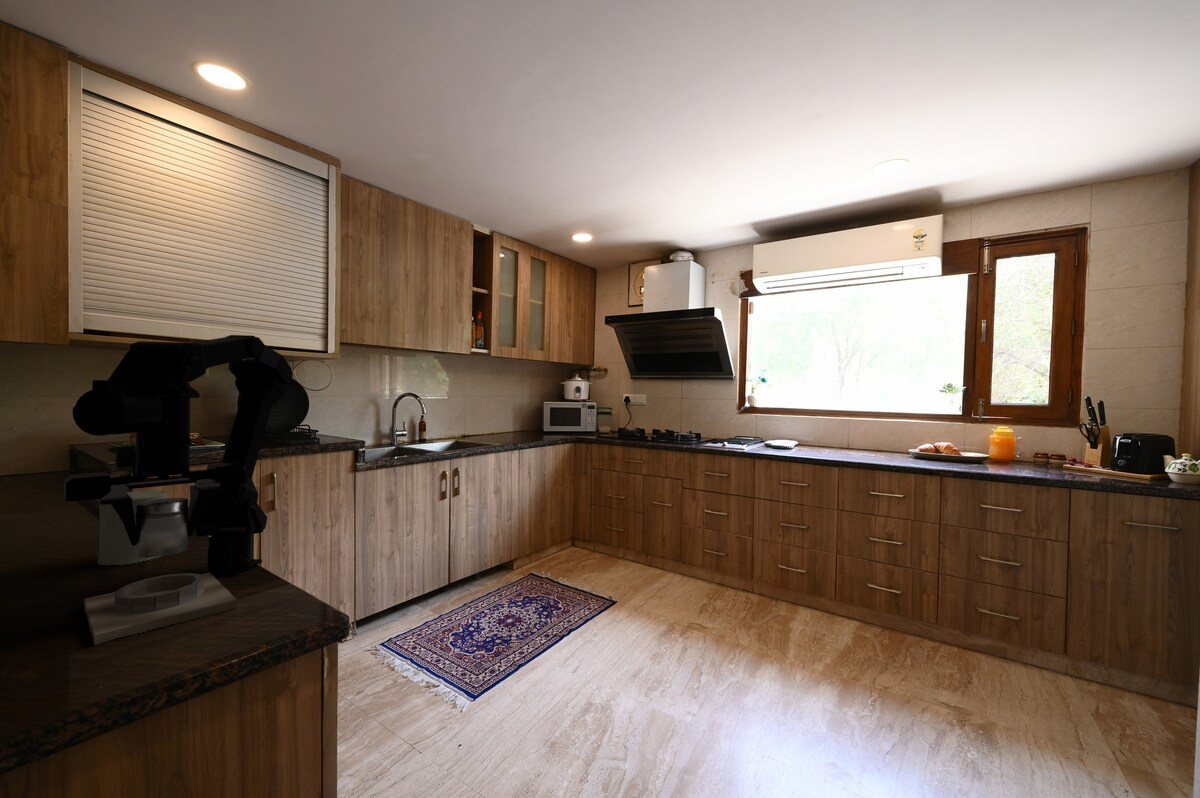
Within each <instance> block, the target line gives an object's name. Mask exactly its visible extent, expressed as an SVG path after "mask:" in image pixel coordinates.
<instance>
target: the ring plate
mask: <svg viewBox="0 0 1200 798" xmlns="http://www.w3.org/2000/svg"><path fill="white" fill-rule="evenodd" d="M83 601H84V603H83V605H84V606H83V608H84V612H85V614H86V615H87V616H86V618H87V623H88V626H89V630H90V633H91V634H90V635H91V638H92V641H93V645H94V646H98V645H101V644H100V643H102V644H104V643H103V642H105V643H108V642H107V641H109V642H111V641H110V640H113V639H116V638H120V637H124V636H128V635H132V636H134V635H133V634H136V635H138V634H137V633H140V634H142V632H144V633H147V632H149V631H148V630H151V631H153V630H152V629H155V630H157V629H156V628H158V627H163V628H165V627H164V626H166V627H168V626H167V625H170V626H172V625H171V624H174V625H177V623H178V624H181V623H180V622H182V623H185V622H189V621H192V619H193V620H197V619H201V618H204V616H205V617H208V616H212V615H216V614H220V613H223V612H227V611H230V609H231V610H235V609H237V608H238V599H237V598H236V597H235V596H234V595H233V594H232V593H231V592H230V591H229V590H228V589H227V588H226V587H225V586H224V585H223V584H222V583H221V582H220V581H219V580H218V579H217V578H216V577H215V576H214V574H211V573H210V572H209V573H205V574H199V573H190V572H187V573H186V572H185V573H184V572H183V573H171V574H164V575H163V574H162V575H158V576H153V577H149V578H144V579H141V580H138V581H135V582H131V583H129V584H126V585H124V586H122V587H120V588H119V589H118V590H115V591H114V592H113V591H112V592H109V593H105V594H100V595H94V596H91V597H86V598H84V600H83ZM234 608H235V609H234ZM196 618H197V619H196ZM184 621H185V622H184ZM146 631H147V632H146ZM128 637H129V636H128ZM124 638H125V637H124ZM113 641H114V640H113ZM97 644H98V645H97Z"/></svg>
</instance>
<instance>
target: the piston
mask: <svg viewBox="0 0 1200 798" xmlns="http://www.w3.org/2000/svg"><path fill="white" fill-rule="evenodd" d="M188 511H189V499H188V498H187V497H169V498H168V497H167V498H165V499H155V500H149V501H144V502H140V503H137V504H136V513H135V517H136V532H137V541H136V545H135V556H136V557H141V558H150V557H159V558H160V556H161V557H166V556H171V555H175V554H179V553H182V552H184V551H186V550H187V549H188V547H189V546H188V544H189V543H188V542H189V537H188Z"/></svg>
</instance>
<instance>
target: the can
mask: <svg viewBox="0 0 1200 798" xmlns="http://www.w3.org/2000/svg"><path fill="white" fill-rule="evenodd" d="M127 494H128V495H129V496H130V497H131V498H132V503H133V510H134V518H135V525H136V517H135V513H136V504H137V503H140V502H144V501H149V500H155V499H165V498H168V492H167V491H164V490H141V491H140V490H139V491H137V490H136V491H129V492H127ZM98 531H99V537H98V539H99V540H98V542H99V544H98V545H99V546H98V558H97V559H98V560H97V565H99V566H103V565H107V566H106V567H110V566H109V565H119V566H127V565H126V564H128V565H133V564H132V563H135V564H139V563H138V562H140V563H143V562H142V561H145V562H147V561H146V560H149V561H152V560H151V559H153V560H155V559H154V558H156V559H159V558H160V557H161V558H162V556H160V557H159V558H158V557H150V558H141V557H136V556H135V546H132V545H131V542H130V540H129V538H128V536H127V533H126V531H125V529H124V526H123V524H122V522H121V520H120V518H119V516H118V514H117V513H116V511H115V510H114V508H113V507H112V505H111V504H107V505H100V504H99V530H98Z"/></svg>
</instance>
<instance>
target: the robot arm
mask: <svg viewBox="0 0 1200 798" xmlns="http://www.w3.org/2000/svg"><path fill="white" fill-rule="evenodd" d="M224 364H228V367H227V369H228V371H229V373H231V374H232V375H233V376H234V377H235V382H234V385H235V387H236V389H237V392H238V393H239V394H238V395H239V397H240V400H239V401H240V402H239V404H238V407H237V410H236V413H235V418H234V420H233V424H232V427H231V430H230V433H229V437H228V440H227V443H226V447H225V450H224V453H223V457H222V460H221V462H220V463H217V462H216V463H208V464H207V466H206V469H195V470H194V469H193V470H191V469H190V462H191V460H190V459H191V457H190V455H191V453H190V452H191V451H190V448H191V445H190V444H191V399H198V398H200V397H201V394H200V393H199V392H198V390H197V389H194V388H193V387H192V386H191V384H190V383H192V382H194V381H196V380H197V379H199V378H201V377H202V376H203V377H204V376H205V375H206V373H207V369H209V368H212V367H217V366H220V365H224ZM292 379H293V370H292V367H291V366H290V365H289V363H288V362H287V360H286V359H285V358H284V356H283V355H282V354H280V353H279V352H278V351H276V350H274V349H272V348H270V346H267V345H266V344H265V343H264V341H262V339H261V338H260V337H257V336H255V335H248V334H247V335H246V334H244V335H243V334H241V335H240V334H229V335H227V336H223V337H219V338H212V339H206V340H201V341H200V340H199V341H194V342H193V341H192V342H184V341H181V342H179V341H143V340H142V341H141V340H140V341H136V342H133V343H132V344H130V345H129V350H128V351H127V352H126V353H125V355H124V356H123V358H122V359H121V360H120V362H119V363H118V364H117V366H116V368H114V370H113V372H112V373H111V375H110V376H109V378H108V379H93V380H92V383H91V384H92V385H91V386H92V389H90V390H88V391H86V392H84V393H83V394H82V395H81V396H80V397H79V398H78V399H77V400H76V403H75V405H74V406H73V407H72V412H71V413H72V418H73V421H74V423H75V425H76V426H77V427H78V428H79V429H80V430H81V431H82V432H84V433H86V434H88V435H91V436H96V437H100V436H101V437H102V436H103V437H104V436H113V435H123V434H124V435H126V434H135V447H134V446H133V445H127V446H126V445H125V446H115V449H114V470H115V471H118V472H119V471H131V474H132V475H125V476H124V475H122V476H112V477H111V474H110V473H108V471H101V472H89V473H74V474H71V473H70V474H69V475H68V476H67V477H65V478H64V479H63V497H64V500H65V502H79V501H81V502H82V501H91V500H97V502H98V504H99V506H100V505H107V504H111V505H112V507H113V508H114V510H115V511H116V513H117V514H118V516H119V518H120V520H121V522H122V524H123V526H124V529H125V531H126V533H127V536H128V538H129V540H130V542H131V545H132V546H135V545H136V541H137V532H136V525H135V518H134V510H133V503H132V498H131V497H130V496H129V495H128V494H127V492H130V490H135V489H144V488H146V489H147V488H155V487H156V488H157V487H166V486H176V485H184V484H186V485H187V484H191V485H189V502H188V507H189V511H188V538H190V537H192V536H193V534H194V532H195V534H196V537H198V538H199V537H208V547H207V560H206V561H207V562H206V565H207V567H205V568H203V569H200V570H199V571H198V574H205V573H209V572H210V573H211V574H212V575H237V574H240V573H242V572H244V570H245V571H246V569H247V570H249V569H250V568H253V567H255V566H257V565H259V564H261V563H263V559H261V558H257V559H256V558H254V557H255V555H254V554H255V553H254V551H255V550H254V549H255V535H257V534H261V533H263V532H264V530H265V529H266V526H267V523H268V516H267V515H266V513H265V511H264V510H263V508H261V506H260V504H258V500H259V492H258V490H257V488H256V486H255V485H256V484H255V483H254V480H253V475H254V471H255V469H256V468H255V467H256V465H257V461H258V459H259V458H258V457H259V454H260V451H261V447H262V443H263V441H264V436H265V432H266V428H267V425H268V421H269V418H270V414H271V411H272V408H273V405H274V404H276V403H277V402H279V400H281V398H283V397H284V396H285V395H286V393H287V391H288V387H289V385H290V383H291V381H292ZM241 556H242V557H241ZM244 558H246V559H248V560H250V561H251V562H253V563H254V564H256V565H255V566H254V565H253V564H252V563H251V562H249V561H247V560H246V559H244ZM250 564H252V566H251V565H250Z"/></svg>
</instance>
